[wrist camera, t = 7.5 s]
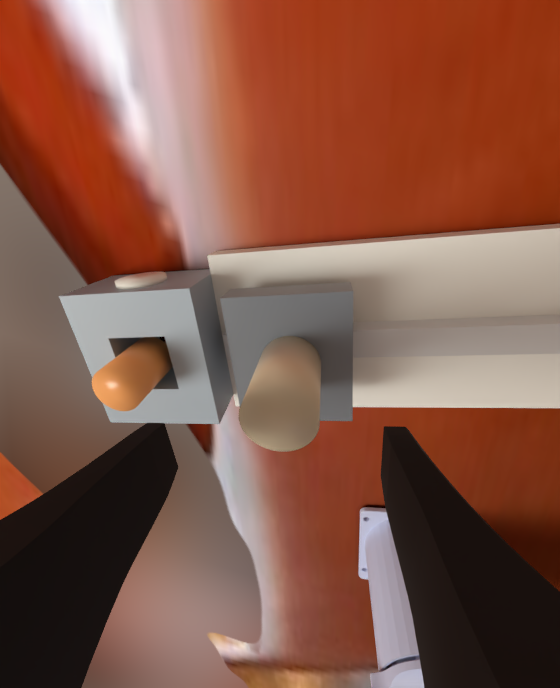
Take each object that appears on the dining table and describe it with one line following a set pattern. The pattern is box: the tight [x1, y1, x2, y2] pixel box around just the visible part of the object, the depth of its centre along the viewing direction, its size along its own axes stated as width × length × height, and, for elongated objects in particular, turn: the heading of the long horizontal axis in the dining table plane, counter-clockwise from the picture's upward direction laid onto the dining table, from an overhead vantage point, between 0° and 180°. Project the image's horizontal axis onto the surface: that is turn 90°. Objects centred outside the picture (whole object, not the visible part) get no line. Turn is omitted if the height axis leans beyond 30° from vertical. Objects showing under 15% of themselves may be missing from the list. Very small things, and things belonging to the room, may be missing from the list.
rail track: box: [207, 224, 560, 408], centre depth 16 cm, size 10×24×4 cm, turn 96°
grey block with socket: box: [59, 269, 233, 424], centre depth 19 cm, size 8×7×4 cm
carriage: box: [220, 282, 353, 451], centre depth 14 cm, size 7×6×7 cm
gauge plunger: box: [92, 337, 173, 411], centre depth 16 cm, size 2×2×4 cm
